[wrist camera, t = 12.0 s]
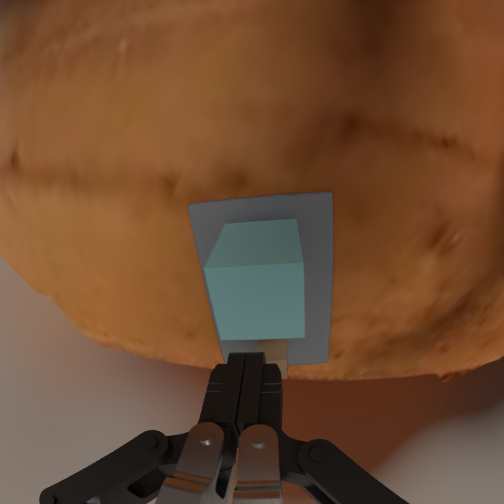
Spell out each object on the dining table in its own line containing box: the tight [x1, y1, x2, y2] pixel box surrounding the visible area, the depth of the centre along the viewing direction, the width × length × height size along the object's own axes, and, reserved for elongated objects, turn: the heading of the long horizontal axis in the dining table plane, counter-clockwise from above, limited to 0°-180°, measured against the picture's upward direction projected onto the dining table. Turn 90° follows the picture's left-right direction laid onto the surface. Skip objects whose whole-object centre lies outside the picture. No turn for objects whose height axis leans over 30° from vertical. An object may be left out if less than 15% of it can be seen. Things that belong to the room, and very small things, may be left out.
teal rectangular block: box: [204, 219, 305, 340], centre depth 19 cm, size 5×5×7 cm
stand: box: [188, 191, 333, 379], centre depth 22 cm, size 18×11×7 cm, turn 7°
